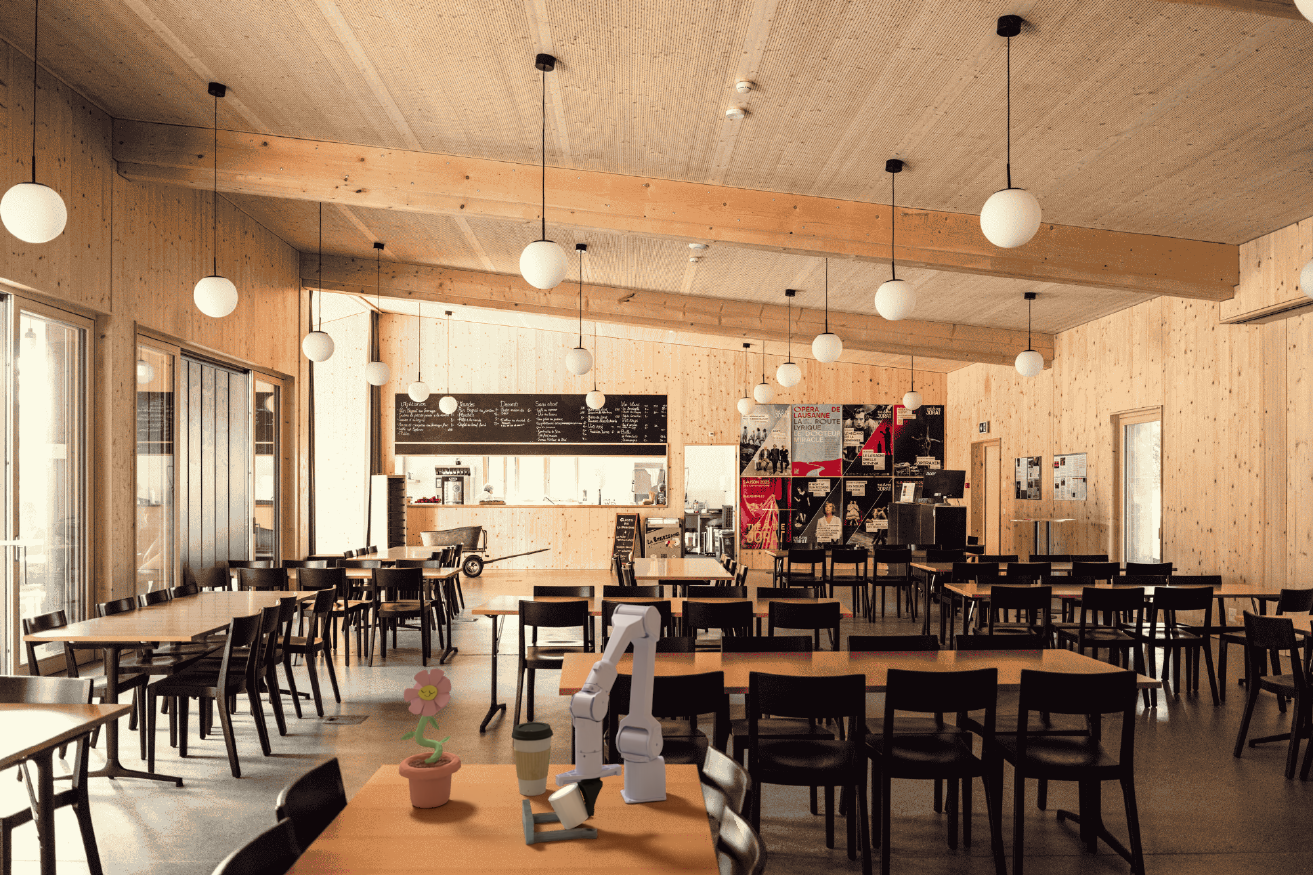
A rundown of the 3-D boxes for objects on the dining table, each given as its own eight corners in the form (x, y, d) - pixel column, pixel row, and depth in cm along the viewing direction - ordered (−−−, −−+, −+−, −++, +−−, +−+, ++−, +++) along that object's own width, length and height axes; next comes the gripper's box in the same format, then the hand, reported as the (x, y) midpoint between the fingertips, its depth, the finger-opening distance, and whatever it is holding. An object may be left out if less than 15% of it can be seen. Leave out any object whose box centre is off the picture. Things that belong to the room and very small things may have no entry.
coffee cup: (557, 784, 213) (557, 721, 214) (548, 798, 203) (548, 732, 204) (517, 783, 214) (517, 721, 215) (506, 797, 204) (506, 732, 205)
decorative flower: (383, 812, 196) (384, 675, 198) (410, 791, 210) (410, 663, 211) (446, 815, 194) (447, 677, 196) (469, 793, 207) (469, 664, 209)
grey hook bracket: (589, 814, 193) (589, 793, 194) (598, 838, 180) (598, 816, 180) (522, 820, 190) (522, 798, 191) (526, 845, 177) (526, 822, 177)
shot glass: (578, 828, 182) (564, 796, 182) (555, 833, 185) (541, 802, 186) (597, 810, 187) (583, 779, 188) (574, 815, 191) (561, 785, 191)
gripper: (611, 739, 194) (611, 802, 193) (549, 749, 187) (550, 815, 186) (625, 747, 188) (626, 812, 187) (562, 758, 181) (563, 826, 180)
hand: (589, 814), depth 186 cm, fingers closed, pressing on shot glass
